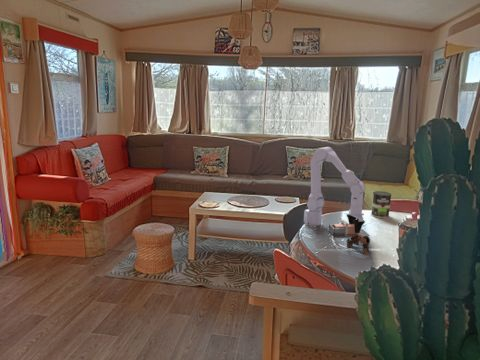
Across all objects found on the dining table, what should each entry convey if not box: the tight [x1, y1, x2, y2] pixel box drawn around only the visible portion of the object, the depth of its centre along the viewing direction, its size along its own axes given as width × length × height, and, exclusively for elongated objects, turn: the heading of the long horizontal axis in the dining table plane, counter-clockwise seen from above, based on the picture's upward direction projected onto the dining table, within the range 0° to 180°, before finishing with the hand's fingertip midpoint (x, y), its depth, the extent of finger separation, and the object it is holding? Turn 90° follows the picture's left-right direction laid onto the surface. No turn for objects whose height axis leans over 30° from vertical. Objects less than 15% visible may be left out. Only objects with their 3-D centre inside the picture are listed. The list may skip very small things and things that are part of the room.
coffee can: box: [370, 190, 392, 219], centre depth 216 cm, size 10×10×14 cm
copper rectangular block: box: [333, 223, 358, 234], centre depth 184 cm, size 12×4×4 cm, turn 93°
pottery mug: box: [345, 235, 371, 255], centre depth 166 cm, size 12×10×8 cm
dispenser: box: [327, 218, 370, 237], centre depth 184 cm, size 19×10×7 cm, turn 93°
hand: (354, 230), depth 185 cm, fingers open, 7 cm apart
